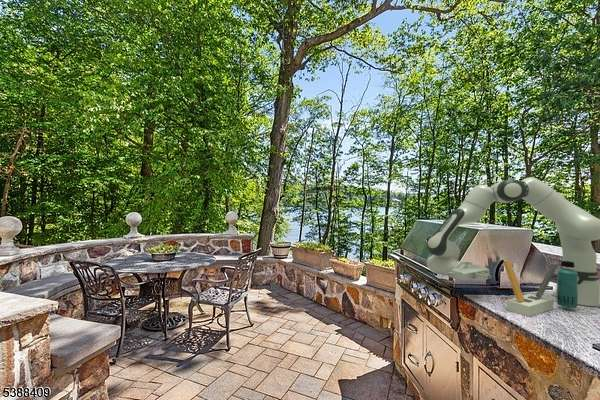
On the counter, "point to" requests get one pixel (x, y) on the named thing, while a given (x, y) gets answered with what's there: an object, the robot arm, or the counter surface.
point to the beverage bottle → (567, 286)
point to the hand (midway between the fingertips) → (489, 277)
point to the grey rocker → (546, 279)
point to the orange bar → (513, 281)
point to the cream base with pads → (529, 305)
